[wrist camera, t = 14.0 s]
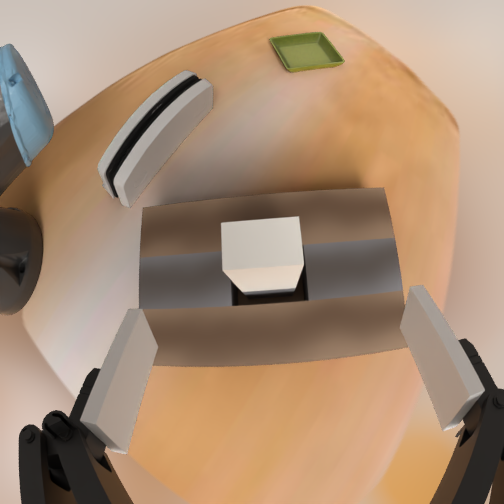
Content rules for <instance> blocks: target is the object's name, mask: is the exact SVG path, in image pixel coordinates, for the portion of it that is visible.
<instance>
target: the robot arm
mask: <svg viewBox="0 0 504 504" xmlns="http://www.w3.org/2000/svg"><path fill="white" fill-rule="evenodd" d="M53 132H54V124H53V119H52V117H51V114H50V111H49V109H48V106H47V104H46V102H45V100H44V98H43V96H42V94H41V92H40V90H39V88H38V86H37V84H36V82H35V80H34V78H33V76H32V75H31V72H30V71H29V69H28V67H27V65H26V63H25V62H24V60H23V58H22V57H21V55H20V54H19V53H18V51H17V50H16V49H15V48H14V46H13V45H12V44H7V45H5V46H3V47H0V196H1V194H2V193H3V192H4V191H5V190H6V189H7V187H8V186H9V185H10V184H11V183H12V182H13V181H14V179H15V178H16V177H17V176H18V175H19V174H20V173H21V172H22V171H23V170H24V169H25V168H26V167H29V166H30V165H31V163H32V160H33V159H34V158H35V157H36V156H37V155H38V154H39V153H40V151H41V150H42V149H43V148H44V147H45V146H46V145H47V144H48V143H49V141H50V140H51V138H52V136H53ZM41 262H42V237H41V232H40V228H39V226H38V223H37V222H36V220H35V219H34V218H33V217H32V216H31V215H30V214H28V213H26V212H24V211H23V210H21V209H18V208H2V207H0V314H2V315H12V314H15V313H17V312H18V311H19V310H21V309H22V308H23V307H24V305H25V304H26V303H27V301H28V300H29V298H30V297H31V295H32V293H33V291H34V288H35V286H36V283H37V280H38V277H39V273H40V268H41ZM400 329H401V332H402V334H403V336H404V338H405V340H406V342H407V344H408V347H409V349H410V351H411V353H412V356H413V358H414V360H415V362H416V365H417V367H418V369H419V372H420V374H421V376H422V379H423V381H424V384H425V386H426V388H427V391H428V393H429V396H430V398H431V401H432V403H433V406H434V409H435V411H436V414H437V417H438V420H439V422H440V425H441V428H442V430H443V431H445V430H448V429H450V428H453V427H456V426H457V425H458V424H459V423H460V422H461V421H462V419H463V421H464V423H465V425H464V426H463V427H462V428H461V430H460V431H459V432H458V433H457V435H456V436H455V437H458V436H459V435H460V437H459V439H458V443H457V445H456V448H455V450H454V453H453V455H452V458H451V460H450V462H449V465H448V467H447V469H446V472H445V474H444V476H443V478H442V480H441V483H440V484H439V487H438V489H437V491H436V493H435V495H434V497H433V498H432V501H431V502H430V504H484V503H485V501H486V498H487V496H488V493H489V490H490V488H491V485H492V490H491V496H490V502H489V504H504V390H503V389H498V388H497V386H496V385H495V383H494V381H493V379H492V377H491V375H490V374H489V372H488V370H487V368H486V366H485V364H484V363H483V362H482V359H481V358H480V356H478V352H477V351H476V349H475V347H474V346H473V345H472V344H471V343H470V342H469V341H468V340H467V339H461V340H458V339H457V338H456V336H455V334H454V333H453V331H452V329H451V328H450V326H449V324H448V323H447V321H446V319H445V318H444V316H443V315H442V313H441V312H440V310H439V308H438V307H437V305H436V304H435V302H434V301H433V299H432V298H431V296H430V295H429V293H428V292H427V290H426V289H425V287H424V286H423V285H419V286H412V287H410V289H409V293H408V297H407V301H406V306H405V309H404V313H403V317H402V321H401V325H400ZM157 349H158V345H157V343H156V341H155V338H154V336H153V334H152V331H151V329H150V327H149V324H148V322H147V320H146V317H145V315H144V312H143V310H142V309H129V310H128V312H127V314H126V316H125V318H124V320H123V322H122V324H121V326H120V328H119V330H118V332H117V334H116V337H115V339H114V341H113V343H112V345H111V347H110V350H109V352H108V354H107V356H106V358H105V361H104V363H103V365H102V367H101V369H97V368H94V369H93V370H92V371H91V372H90V373H89V374H88V375H87V377H86V379H85V381H84V383H83V387H82V388H81V390H80V394H79V395H78V397H77V399H76V402H75V404H74V407H73V409H72V411H71V414H70V416H69V417H68V416H66V414H65V413H63V412H62V411H57V410H55V411H52V412H50V413H49V414H47V415H46V417H45V418H44V420H43V423H42V429H43V430H42V431H41V430H40V429H39V428H38V427H36V426H35V425H27V426H25V427H24V428H23V429H22V430H21V432H20V435H19V478H20V493H21V503H22V504H133V502H132V500H131V498H130V497H129V495H128V493H127V492H126V490H125V488H124V486H123V485H122V483H121V481H120V479H119V477H118V475H117V474H116V472H115V470H114V468H113V466H112V464H111V462H110V460H109V458H108V456H107V454H106V453H105V452H104V451H105V447H106V446H107V447H108V448H109V449H110V450H111V451H113V452H118V453H123V454H127V453H128V449H129V445H130V441H131V437H132V434H133V430H134V426H135V423H136V419H137V415H138V412H139V408H140V405H141V401H142V398H143V395H144V391H145V388H146V385H147V381H148V378H149V375H150V371H151V368H152V365H153V362H154V359H155V355H156V352H157ZM492 482H493V483H492Z"/></svg>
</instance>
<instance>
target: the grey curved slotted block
mask: <svg viewBox="0 0 504 504" xmlns="http://www.w3.org/2000/svg"><path fill="white" fill-rule="evenodd" d="M212 109H213V85H212V84H211V83H210V82H209V81H208V80H206V79H199V78H198V77H197V74H196V73H194V72H191V71H187V70H185V71H183V72H181V73H180V74H178V75H176V76H175V77H173V78H172V79H170V80H169V81H168V82H166V83H165V84H164V85H162V86H161V87H160V88H159V89H158V90H156V91H155V92H154V93H153V94H152V95H151V96H150V97H149V98H148V99H146V100H145V101H144V102H143V104H142V105H141V106H140V107H139V108H138V109H137V110H136V111H135V112H134V113H133V114H132V116H131V117H130V118H129V119H128V120H127V122H126V123H125V124H124V125H123V127H122V128H121V129H120V131H119V132H118V133H117V135H116V136H115V137H114V139H113V140H112V142H111V143H110V145H109V147H108V148H107V150H106V151H105V153H104V155H103V156H102V158H101V160H100V162H99V164H98V168H97V169H98V172H99V174H100V176H101V178H102V181H103V185H102V186H103V187H104V188H105V189H106V191H107V192H108V193H109V194H110V195H111V196H112V197H113V199H114V198H115V197H117V198H118V196H119V199H120V201H121V204H122V205H123V206H126V207H128V208H131V207H132V205H133V204H134V203H135V201H136V200H137V198H138V197H139V196H140V194H141V193H142V192H143V190H144V189H145V188H146V187H147V185H148V184H149V183H150V181H151V180H152V179H153V177H154V176H155V175H156V174H157V172H158V171H159V170H160V169H161V167H162V166H163V165H164V164H165V162H166V161H167V160H168V159H169V158H170V156H171V155H172V154H173V153H174V152H175V150H176V149H177V148H178V147H179V146H180V144H181V143H182V142H183V141H184V140H185V139H186V138H187V136H188V135H189V134H190V133H191V132H192V131H193V130H194V128H195V127H196V126H197V125H198V124H199V123H200V122H201V121H202V120H203V118H204V117H205V116H206V115H207V114H208V113H209V112H210V111H211V110H212Z"/></svg>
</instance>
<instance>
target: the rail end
mask: <svg viewBox="0 0 504 504" xmlns="http://www.w3.org/2000/svg"><path fill="white" fill-rule="evenodd" d="M221 239H222V270H223V272H224V273H225V274H226V275H227V276H228V277H229V278H230V279H231V280H232V281H233V283H234V284H235V285H236V286H237V287H238V288H239V289H240V290H241V291H242V292H243V293H244V295H245V296H246V297H247V298H248V299H259V298H273V297H286V296H293V294H294V291H295V288H296V286H297V283H298V280H299V277H300V274H301V271H302V269H303V266H304V259H303V249H302V240H301V231H300V222H299V216H298V217H285V218H272V219H260V220H248V221H236V222H225V223H221Z"/></svg>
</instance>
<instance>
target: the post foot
mask: <svg viewBox="0 0 504 504" xmlns="http://www.w3.org/2000/svg"><path fill="white" fill-rule="evenodd" d="M298 216H299V222H300V231H301V240H302V249H303V259H304V266H303V269H302V271H301V274H300V277H299V280H298V283H297V286H296V288H295V291H294V294H293V296H286V297H273V298H259V299H248V298H247V297H246V296H245V295H244V293H243V292H242V291H241V290H240V289H239V288H238V287H237V286H236V285H235V284H234V283H233V281H232V280H231V279H230V278H229V277H228V276H227V275H226V274H225V273H224V272H223V270H222V239H221V223H225V222H236V221H248V220H260V219H272V218H285V217H298ZM139 309H142V310H143V312H144V315H145V317H146V320H147V322H148V324H149V327H150V329H151V331H152V334H153V336H154V338H155V341H156V343H157V345H158V349H157V352H156V355H155V359H154V362H153V365H152V366H181V367H224V366H254V365H273V364H287V363H299V362H310V361H320V360H329V359H337V358H345V357H352V356H360V355H366V354H373V353H379V352H385V351H391V350H396V349H402V348H407V347H408V344H407V342H406V340H405V338H404V336H403V334H402V332H401V329H400V325H401V321H402V317H403V313H404V309H405V304H404V295H403V287H402V279H401V272H400V266H399V259H398V253H397V247H396V242H395V236H394V231H393V226H392V221H391V216H390V212H389V207H388V203H387V198H386V194H385V190H384V188H357V189H335V190H317V191H301V192H286V193H273V194H261V195H250V196H239V197H229V198H219V199H209V200H200V201H192V202H183V203H175V204H167V205H160V206H152V207H145V208H143V212H142V226H141V243H140V267H139Z"/></svg>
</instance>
